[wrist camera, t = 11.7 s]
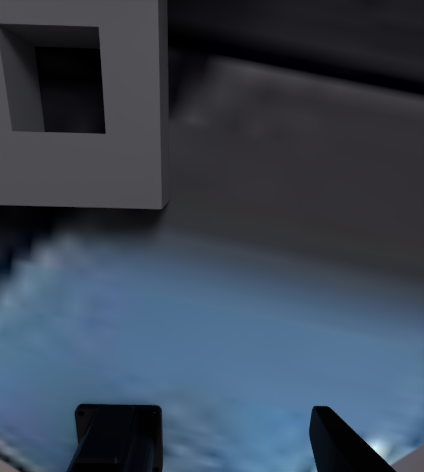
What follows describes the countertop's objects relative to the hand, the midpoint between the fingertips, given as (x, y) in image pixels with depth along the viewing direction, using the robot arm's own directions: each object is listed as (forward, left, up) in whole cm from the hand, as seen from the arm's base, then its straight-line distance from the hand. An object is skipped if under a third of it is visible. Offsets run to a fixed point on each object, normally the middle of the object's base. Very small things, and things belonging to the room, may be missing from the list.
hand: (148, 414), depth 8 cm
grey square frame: (+10, +6, -12) cm, 17 cm away
